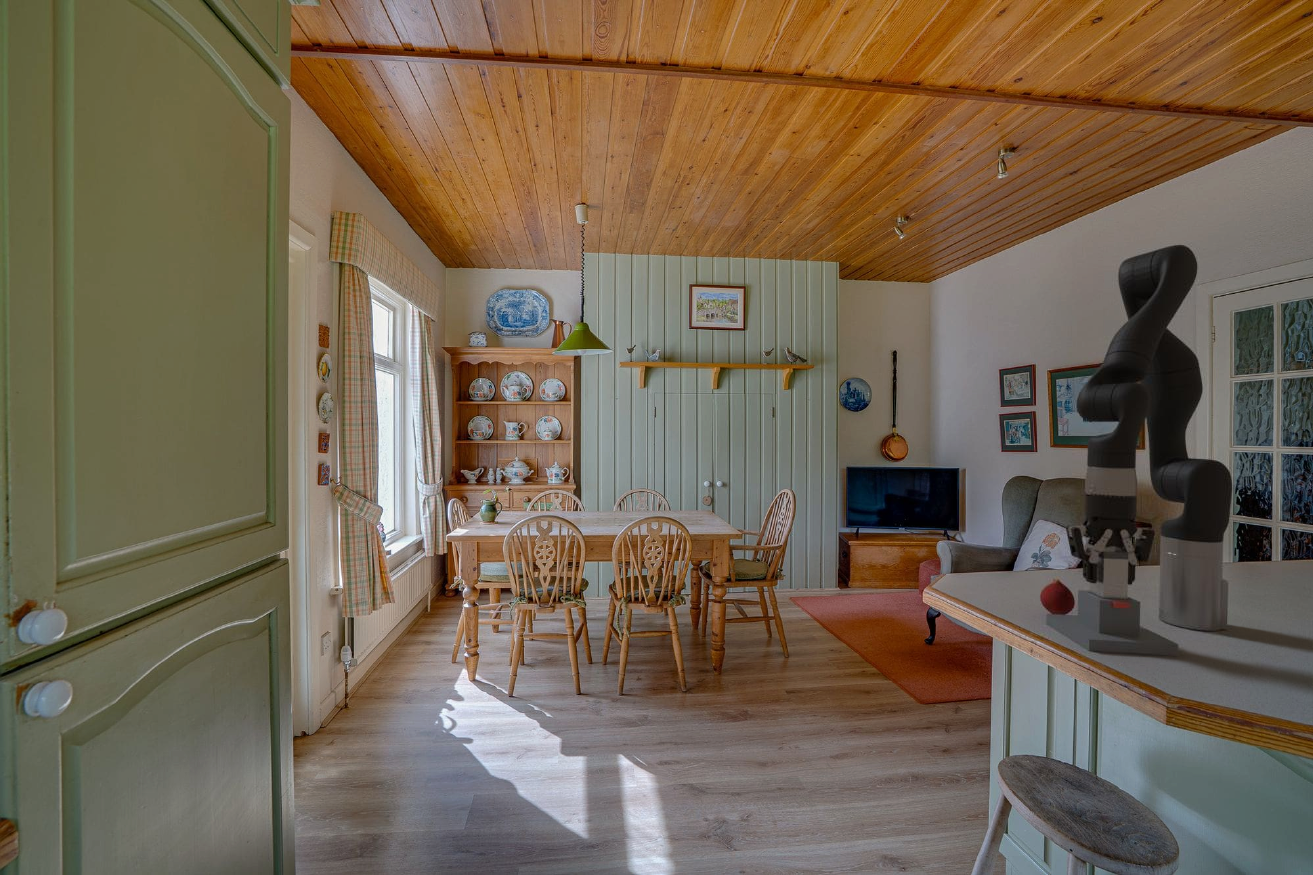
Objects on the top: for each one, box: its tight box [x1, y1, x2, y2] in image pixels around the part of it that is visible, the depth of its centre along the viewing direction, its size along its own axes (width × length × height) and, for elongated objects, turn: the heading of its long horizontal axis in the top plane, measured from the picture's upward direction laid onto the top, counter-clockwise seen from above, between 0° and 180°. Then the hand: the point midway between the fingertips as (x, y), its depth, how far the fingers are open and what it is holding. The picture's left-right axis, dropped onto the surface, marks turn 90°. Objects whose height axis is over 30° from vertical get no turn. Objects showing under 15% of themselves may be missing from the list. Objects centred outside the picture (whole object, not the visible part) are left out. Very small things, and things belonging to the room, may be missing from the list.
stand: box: [1045, 589, 1179, 657], centre depth 106 cm, size 14×14×8 cm
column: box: [1089, 547, 1129, 600], centre depth 106 cm, size 4×4×14 cm
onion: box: [1039, 578, 1076, 615], centre depth 118 cm, size 6×6×8 cm
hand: (1108, 582), depth 106 cm, fingers open, 5 cm apart
